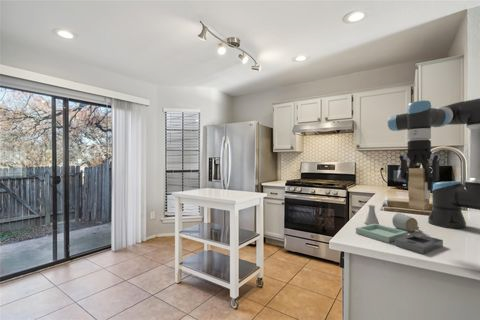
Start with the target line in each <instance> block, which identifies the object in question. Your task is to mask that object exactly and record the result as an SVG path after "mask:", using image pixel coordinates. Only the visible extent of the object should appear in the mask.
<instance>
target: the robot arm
mask: <svg viewBox="0 0 480 320" xmlns="http://www.w3.org/2000/svg"><path fill="white" fill-rule="evenodd" d="M447 125H451V126H452V125H453V126H454V125H455V126H456V125H466V128H468V129H469V130H470V139H469V144H470V145H469V171H468V172H469V177H468V178H467V179H465V181H464V184H463V183H462V181H455V180H454V181H439V180H440V160H441V158H442V157H441V155H440V154H434V153H433V152H432V141H431V140H430V139H432V128H441V127H444V126H447ZM387 127H388V129H389V130H390V131H393V132H399V131H405V130H407V140H408V141H407V151H406V152H407V153H406V154H404V155H399V160H400V179H402V180H405V187H406V189H408V190H407V191H408V193H407V196H408V198H409V168H416V166H417V164H420V165H421V166H422V168H423V169H425V176H426V180H427V181H426V182H425V199H429V200H430V199H432V203H431V204H432V208H431V211H430V213H429V216H428V217H427V218H428V219H427V220H428V223H429V224H431V225H434V226H439V227H443V228H449V229H465V228H467V222H466V219H465V216H464V215H463V212H462V210H463V209H469V210H477V211H480V97H479V98H474V99H469V100H464V101H458V102H454V103H451V104H448V105H447V104H446V105H444V106H439V107H437V108H435V107H432V103H431V101H429V100H417V101H412V102H410V103H408V105H407V112H406V113H401V114H395V115H392V116H390V117H388V120H387ZM408 159H409V165H408ZM429 159H431V160H432V161H431V164H432V165H431V168H430V163H429ZM431 170H432V171H431ZM431 192H432V194H431ZM431 196H432V198H431ZM462 208H463V209H462Z"/></svg>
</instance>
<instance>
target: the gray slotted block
mask: <svg viewBox="0 0 480 320" xmlns="http://www.w3.org/2000/svg"><path fill="white" fill-rule="evenodd" d="M393 243H394V246H395V247H399V248H401V249H402V248H403V249H405V250H409V251H412V252H416V253H418V254H421V255H425V254H427V253H429V252H432V251H435V250H437V249H440V248H443V247H444V240H443V239H440V238H436V237H431V236H427V235H423V234H420V233H415V232H414V233H413V232H412V233H410V234H408V235H407V236H404V237H400V238H397V239H394V242H393Z"/></svg>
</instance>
